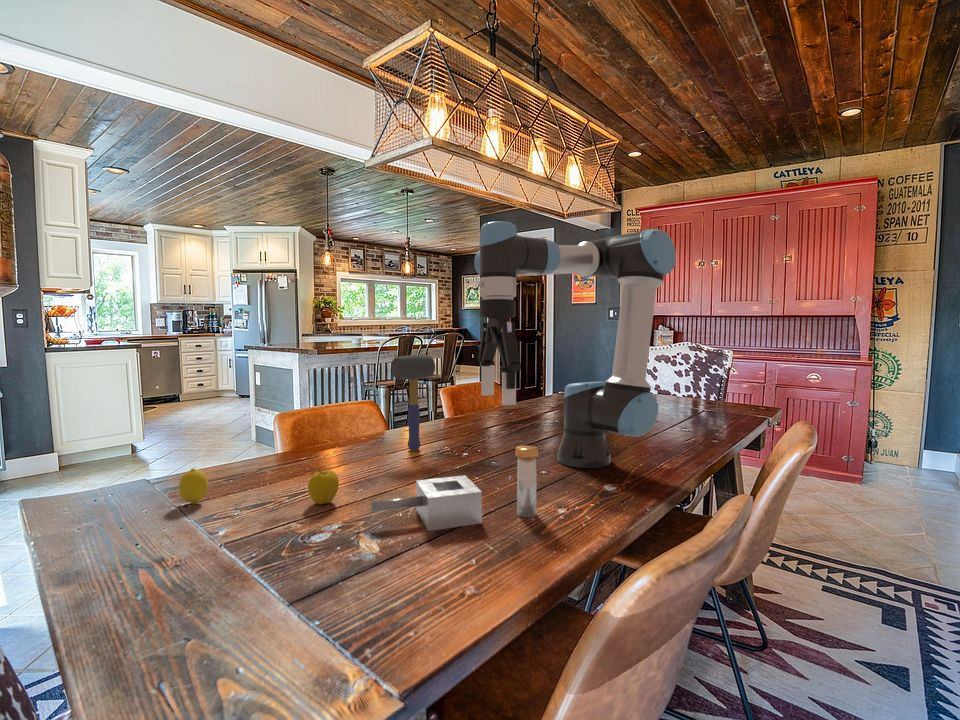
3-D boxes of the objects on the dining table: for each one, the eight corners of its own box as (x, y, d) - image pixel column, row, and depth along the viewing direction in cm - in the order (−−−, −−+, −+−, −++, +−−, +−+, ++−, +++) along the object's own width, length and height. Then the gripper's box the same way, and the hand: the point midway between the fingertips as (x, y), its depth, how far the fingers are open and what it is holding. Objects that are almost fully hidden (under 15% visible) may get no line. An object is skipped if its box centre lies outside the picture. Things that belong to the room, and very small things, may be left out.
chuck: (465, 504, 107) (465, 475, 107) (481, 523, 97) (481, 491, 97) (368, 516, 100) (368, 485, 100) (375, 538, 90) (374, 504, 90)
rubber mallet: (401, 456, 146) (400, 356, 144) (390, 450, 152) (389, 355, 150) (437, 449, 153) (436, 354, 151) (425, 444, 159) (424, 353, 157)
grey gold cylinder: (532, 508, 105) (532, 444, 104) (541, 516, 100) (542, 450, 99) (511, 511, 103) (511, 446, 102) (520, 519, 99) (521, 452, 98)
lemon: (173, 506, 105) (172, 470, 105) (196, 498, 111) (195, 463, 110) (192, 510, 104) (191, 473, 103) (214, 501, 109) (213, 466, 108)
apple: (306, 509, 104) (305, 473, 103) (311, 499, 110) (310, 464, 110) (337, 508, 105) (336, 472, 104) (340, 497, 111) (340, 463, 111)
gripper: (464, 301, 112) (464, 392, 114) (501, 295, 88) (500, 410, 90) (495, 301, 114) (495, 390, 116) (538, 296, 90) (537, 408, 92)
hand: (497, 399), depth 103 cm, fingers open, 13 cm apart
